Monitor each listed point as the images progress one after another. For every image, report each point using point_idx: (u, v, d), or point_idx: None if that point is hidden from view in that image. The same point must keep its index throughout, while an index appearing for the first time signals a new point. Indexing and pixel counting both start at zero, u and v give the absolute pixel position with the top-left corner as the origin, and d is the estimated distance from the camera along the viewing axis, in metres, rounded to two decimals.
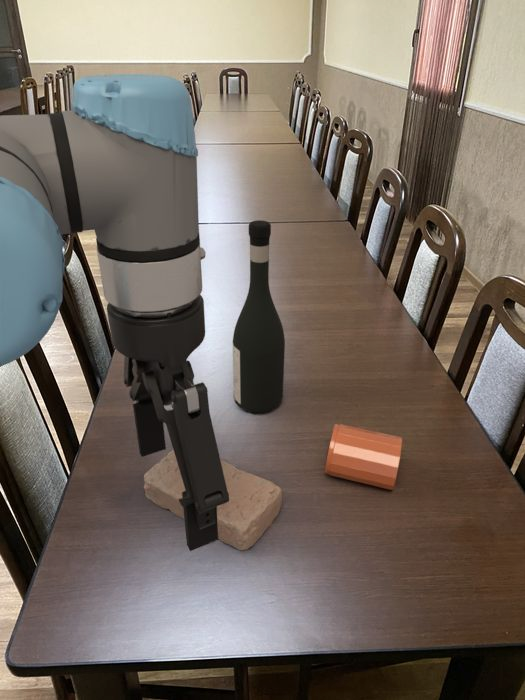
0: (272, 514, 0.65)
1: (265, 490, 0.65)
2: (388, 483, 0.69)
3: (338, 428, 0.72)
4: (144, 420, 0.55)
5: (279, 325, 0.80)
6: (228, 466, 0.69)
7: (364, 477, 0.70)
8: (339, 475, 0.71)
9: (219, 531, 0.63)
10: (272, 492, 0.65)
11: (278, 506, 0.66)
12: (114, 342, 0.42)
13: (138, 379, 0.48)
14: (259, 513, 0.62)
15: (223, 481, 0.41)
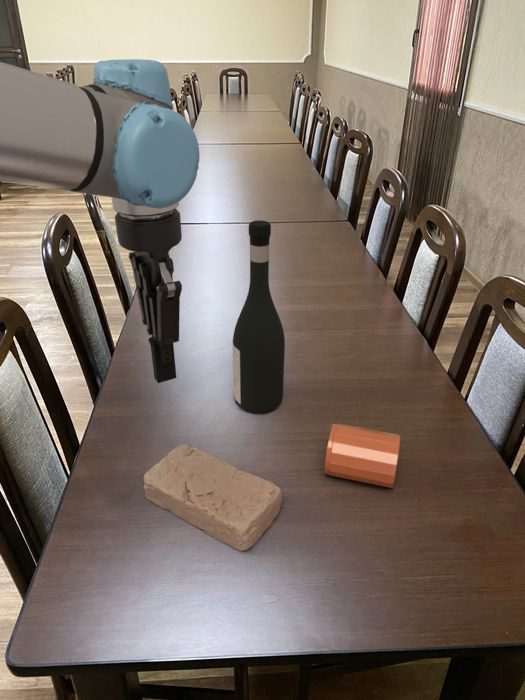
0: (271, 514, 0.65)
1: (265, 490, 0.65)
2: (387, 481, 0.69)
3: (336, 428, 0.72)
4: None
5: (279, 325, 0.80)
6: (228, 466, 0.69)
7: (363, 476, 0.70)
8: (338, 475, 0.71)
9: (219, 531, 0.63)
10: (272, 492, 0.65)
11: (278, 506, 0.66)
12: (120, 240, 0.62)
13: (141, 282, 0.67)
14: (259, 513, 0.62)
15: (178, 332, 0.68)
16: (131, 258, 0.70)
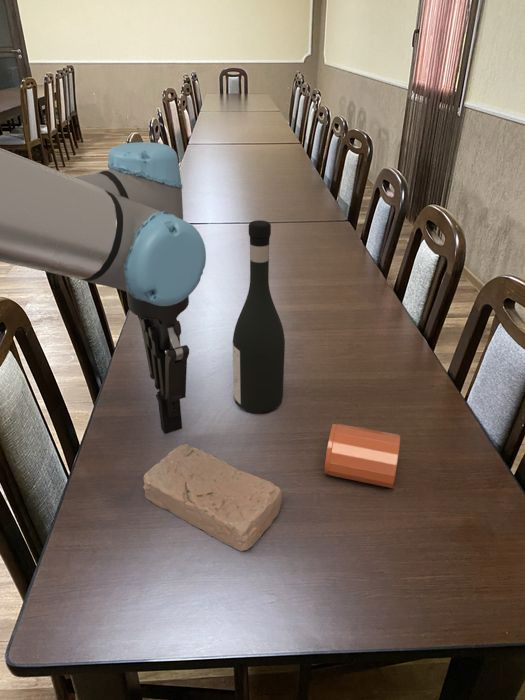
0: (271, 514, 0.65)
1: (265, 490, 0.65)
2: (387, 481, 0.69)
3: (336, 428, 0.72)
4: None
5: (279, 325, 0.80)
6: (228, 466, 0.69)
7: (363, 476, 0.70)
8: (338, 475, 0.71)
9: (219, 531, 0.63)
10: (272, 492, 0.65)
11: (278, 506, 0.66)
12: (130, 307, 0.65)
13: (150, 342, 0.70)
14: (259, 514, 0.62)
15: (184, 390, 0.71)
16: (140, 317, 0.73)
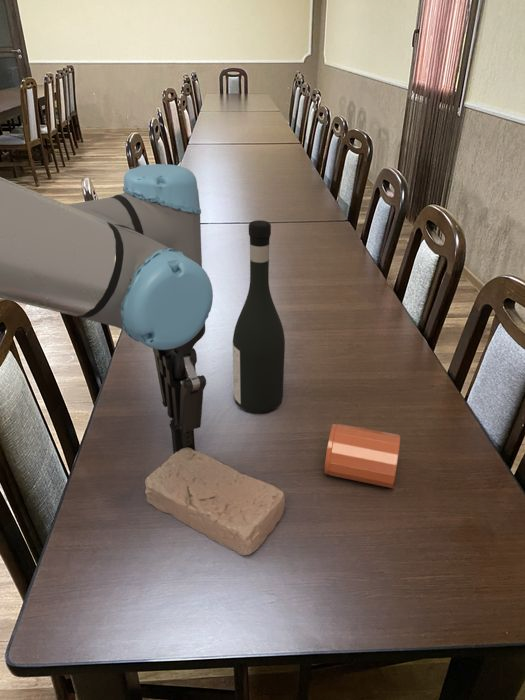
0: (274, 518, 0.64)
1: (268, 494, 0.65)
2: (387, 481, 0.69)
3: (336, 428, 0.72)
4: None
5: (279, 325, 0.80)
6: (230, 470, 0.69)
7: (363, 476, 0.70)
8: (338, 475, 0.71)
9: (222, 536, 0.62)
10: (275, 496, 0.65)
11: (281, 510, 0.65)
12: None
13: (163, 370, 0.67)
14: (262, 518, 0.62)
15: (200, 420, 0.68)
16: None
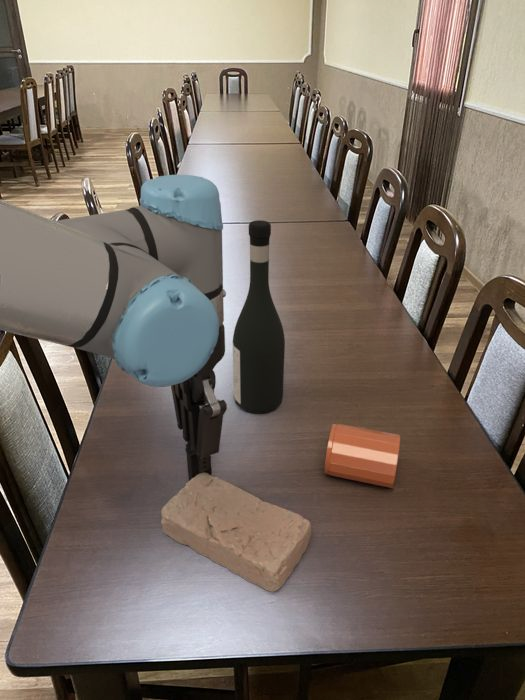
0: (301, 550, 0.60)
1: (294, 524, 0.61)
2: (387, 481, 0.69)
3: (336, 428, 0.72)
4: None
5: (279, 325, 0.80)
6: (251, 497, 0.65)
7: (363, 476, 0.70)
8: (338, 475, 0.71)
9: (246, 571, 0.58)
10: (301, 526, 0.61)
11: (307, 541, 0.62)
12: None
13: (180, 393, 0.63)
14: (289, 551, 0.58)
15: (218, 445, 0.64)
16: None
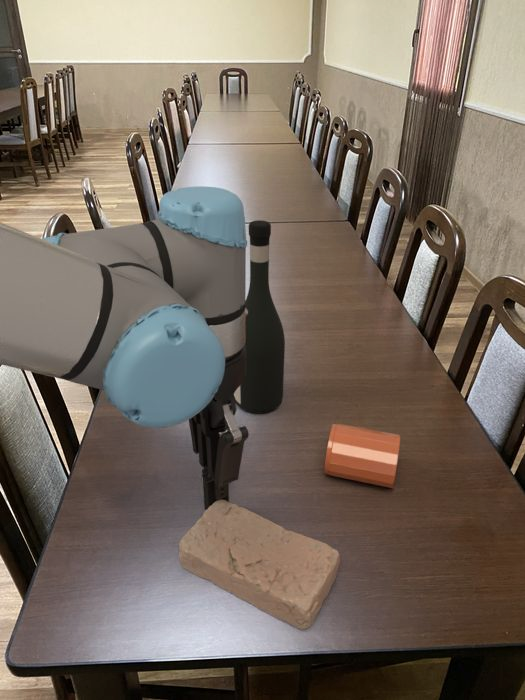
0: (330, 582, 0.57)
1: (322, 555, 0.57)
2: (387, 481, 0.69)
3: (336, 428, 0.72)
4: None
5: (279, 325, 0.80)
6: (274, 526, 0.61)
7: (363, 476, 0.70)
8: (338, 475, 0.71)
9: (274, 608, 0.55)
10: (330, 557, 0.57)
11: (336, 572, 0.58)
12: None
13: (197, 417, 0.59)
14: (320, 586, 0.54)
15: (238, 472, 0.60)
16: None
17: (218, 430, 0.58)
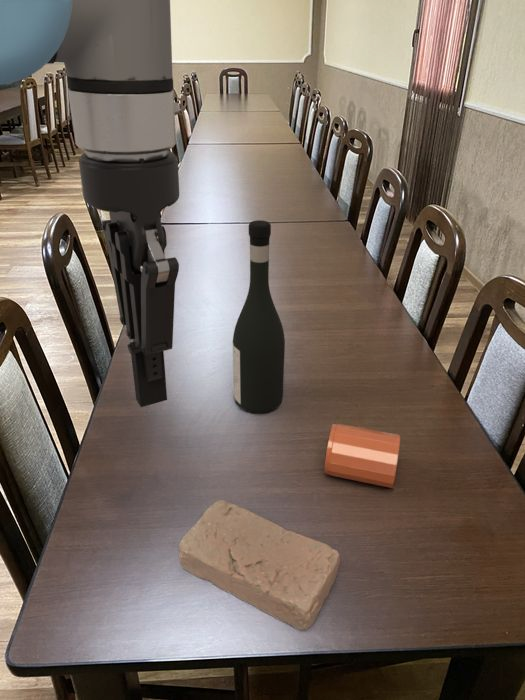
0: (330, 582, 0.57)
1: (322, 555, 0.57)
2: (387, 481, 0.69)
3: (336, 428, 0.72)
4: None
5: (279, 325, 0.80)
6: (274, 526, 0.61)
7: (363, 476, 0.70)
8: (338, 475, 0.71)
9: (274, 608, 0.55)
10: (330, 557, 0.57)
11: (336, 572, 0.58)
12: (86, 195, 0.41)
13: (118, 262, 0.46)
14: (321, 586, 0.54)
15: (171, 335, 0.46)
16: (105, 228, 0.49)
17: None
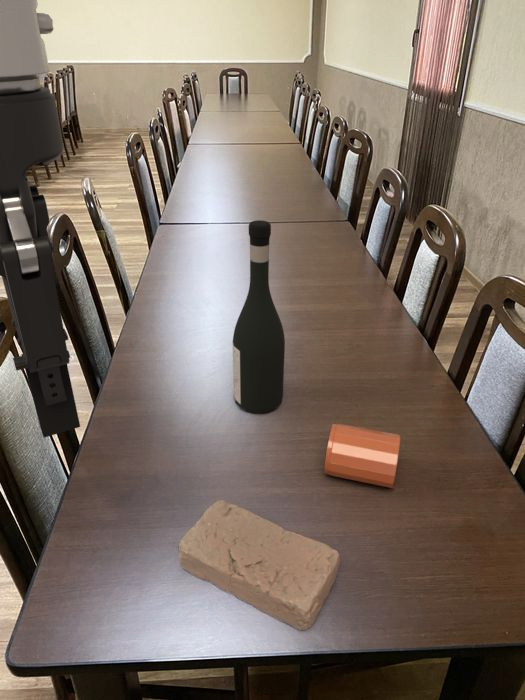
0: (330, 582, 0.57)
1: (322, 555, 0.57)
2: (387, 481, 0.69)
3: (336, 428, 0.72)
4: None
5: (279, 325, 0.80)
6: (274, 526, 0.61)
7: (363, 476, 0.70)
8: (338, 475, 0.71)
9: (274, 609, 0.55)
10: (330, 558, 0.57)
11: (336, 572, 0.58)
12: None
13: None
14: (320, 587, 0.54)
15: (64, 346, 0.34)
16: None
17: None
